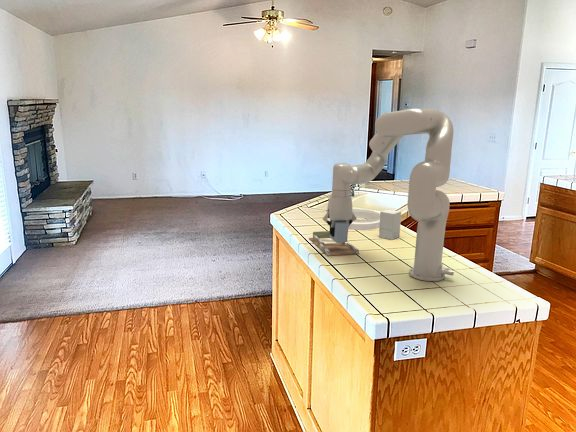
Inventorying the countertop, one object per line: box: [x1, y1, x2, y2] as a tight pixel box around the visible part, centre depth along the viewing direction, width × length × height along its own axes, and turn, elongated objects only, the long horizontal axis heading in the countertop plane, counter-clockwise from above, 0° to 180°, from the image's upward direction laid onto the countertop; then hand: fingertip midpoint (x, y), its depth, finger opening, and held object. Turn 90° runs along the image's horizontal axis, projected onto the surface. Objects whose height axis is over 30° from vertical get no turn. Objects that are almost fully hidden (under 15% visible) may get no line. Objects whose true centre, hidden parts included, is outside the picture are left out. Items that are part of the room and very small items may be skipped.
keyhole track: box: [308, 230, 360, 257], centre depth 200 cm, size 26×14×3 cm, turn 14°
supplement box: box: [378, 208, 402, 241], centre depth 215 cm, size 7×7×13 cm
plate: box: [348, 208, 380, 231], centre depth 241 cm, size 27×27×6 cm
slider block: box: [330, 220, 349, 243], centre depth 192 cm, size 8×5×8 cm, turn 14°
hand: (338, 235), depth 192 cm, fingers closed on slider block, 5 cm apart
